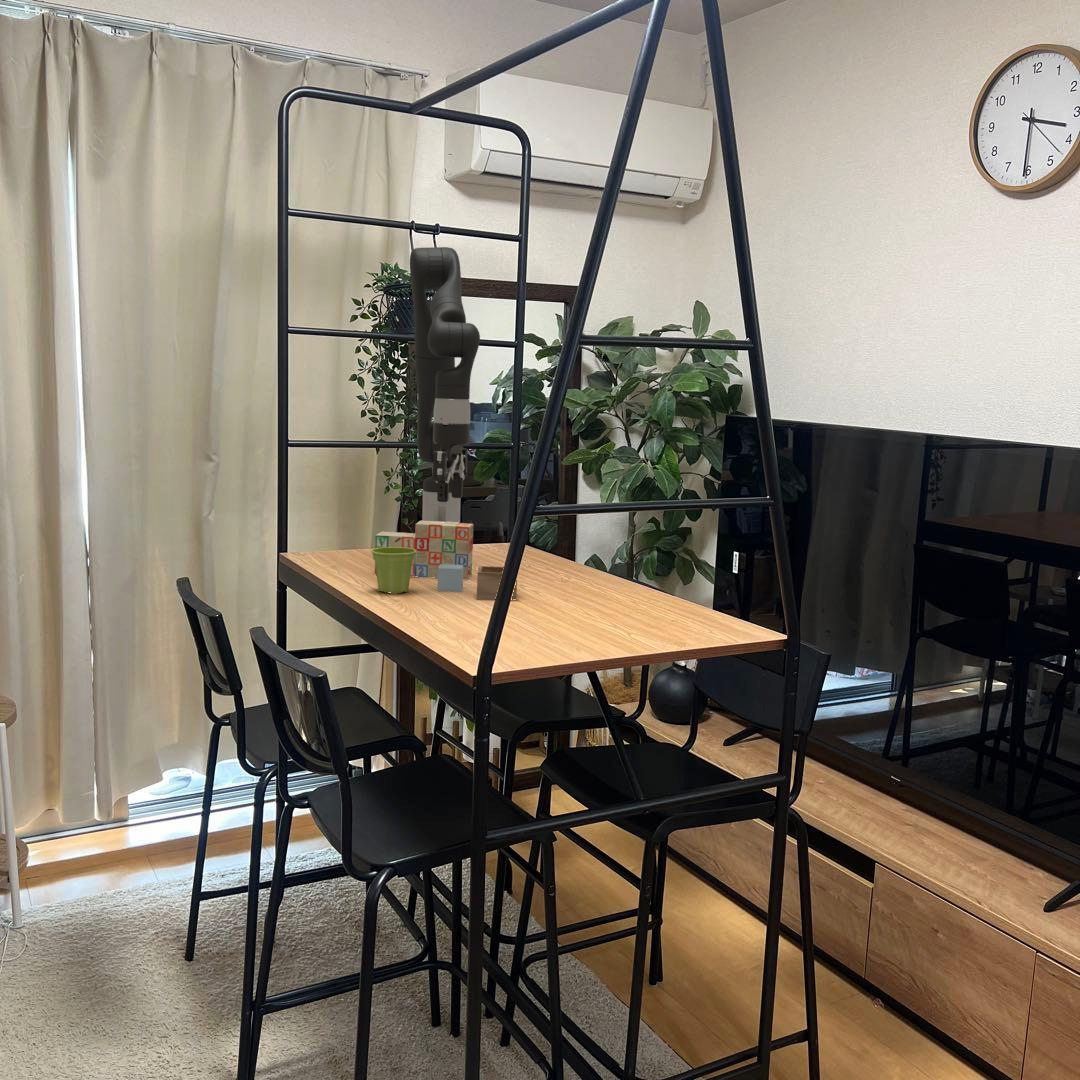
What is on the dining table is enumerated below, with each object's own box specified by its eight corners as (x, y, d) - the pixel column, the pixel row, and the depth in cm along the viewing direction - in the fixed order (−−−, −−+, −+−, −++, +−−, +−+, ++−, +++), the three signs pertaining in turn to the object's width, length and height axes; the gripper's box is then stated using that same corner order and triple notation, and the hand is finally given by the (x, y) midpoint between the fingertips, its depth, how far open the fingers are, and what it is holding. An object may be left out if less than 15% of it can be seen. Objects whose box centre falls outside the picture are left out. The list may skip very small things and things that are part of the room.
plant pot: (371, 595, 212) (371, 553, 211) (369, 587, 221) (369, 546, 220) (417, 595, 214) (418, 553, 213) (413, 587, 223) (414, 546, 222)
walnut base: (478, 591, 220) (479, 566, 219) (516, 593, 220) (517, 567, 220) (476, 599, 212) (477, 572, 212) (516, 600, 212) (517, 573, 212)
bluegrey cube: (439, 587, 225) (439, 564, 224) (462, 588, 225) (463, 565, 224) (437, 591, 220) (438, 568, 219) (461, 592, 220) (462, 568, 219)
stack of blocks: (373, 575, 236) (374, 521, 234) (380, 571, 242) (381, 518, 240) (468, 580, 234) (469, 525, 232) (472, 575, 240) (473, 522, 238)
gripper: (446, 419, 223) (444, 495, 226) (421, 421, 210) (420, 502, 212) (480, 421, 221) (478, 497, 224) (457, 422, 208) (455, 504, 210)
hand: (450, 499), depth 218 cm, fingers open, 8 cm apart
